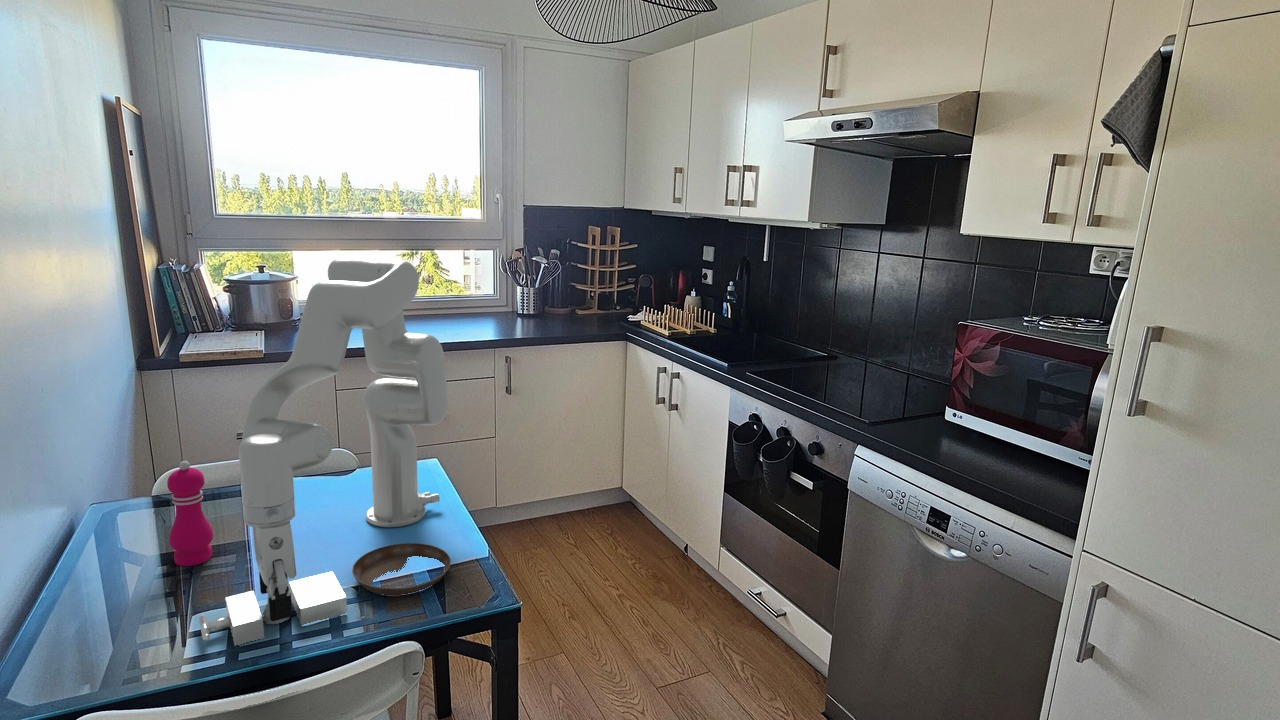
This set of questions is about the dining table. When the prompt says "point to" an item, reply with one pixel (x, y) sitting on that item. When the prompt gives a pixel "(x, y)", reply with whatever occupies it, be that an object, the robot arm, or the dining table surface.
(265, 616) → the rook chess piece
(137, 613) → the dining table surface
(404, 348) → the robot arm
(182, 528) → the pepper mill
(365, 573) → the plant saucer
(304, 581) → the bench vise
